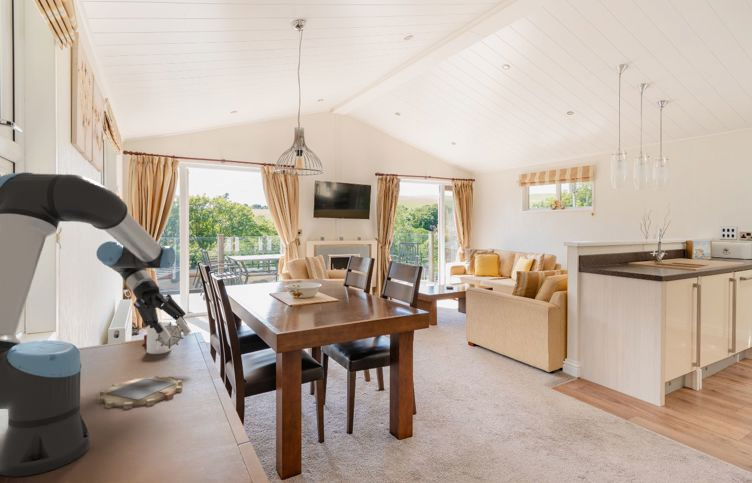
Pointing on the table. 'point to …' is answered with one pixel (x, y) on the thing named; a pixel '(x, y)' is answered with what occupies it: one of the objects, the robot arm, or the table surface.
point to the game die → (175, 334)
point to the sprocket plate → (140, 392)
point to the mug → (153, 345)
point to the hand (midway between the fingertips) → (178, 336)
